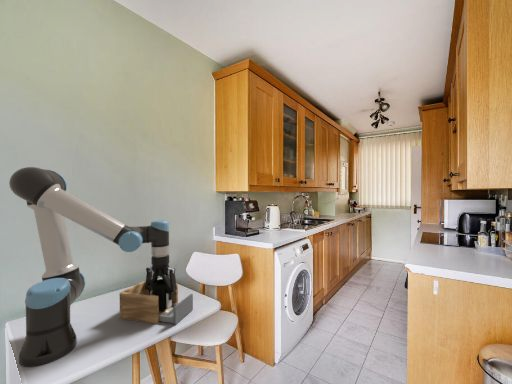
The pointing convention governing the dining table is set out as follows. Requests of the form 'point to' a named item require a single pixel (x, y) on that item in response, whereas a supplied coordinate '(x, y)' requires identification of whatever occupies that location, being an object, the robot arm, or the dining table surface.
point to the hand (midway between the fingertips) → (161, 305)
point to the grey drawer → (177, 311)
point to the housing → (141, 304)
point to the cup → (160, 293)
